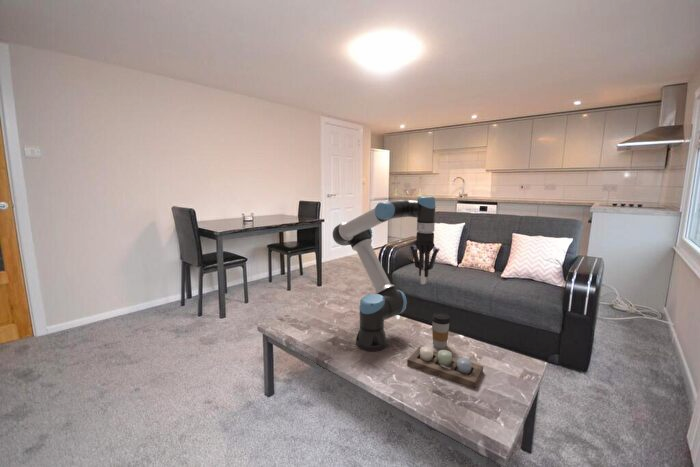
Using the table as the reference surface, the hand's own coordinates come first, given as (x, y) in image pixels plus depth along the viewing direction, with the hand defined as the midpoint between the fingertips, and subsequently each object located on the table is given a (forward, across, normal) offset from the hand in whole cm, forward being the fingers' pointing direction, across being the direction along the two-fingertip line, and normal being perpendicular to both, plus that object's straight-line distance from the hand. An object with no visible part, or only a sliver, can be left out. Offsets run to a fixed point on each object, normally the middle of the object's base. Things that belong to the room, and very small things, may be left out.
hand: (423, 283), depth 145 cm
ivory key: (+31, +6, -8) cm, 32 cm away
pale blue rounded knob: (+31, +22, -8) cm, 39 cm away
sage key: (+30, +14, -8) cm, 34 cm away
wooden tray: (+32, +14, -8) cm, 36 cm away
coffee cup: (+33, +6, +9) cm, 34 cm away
